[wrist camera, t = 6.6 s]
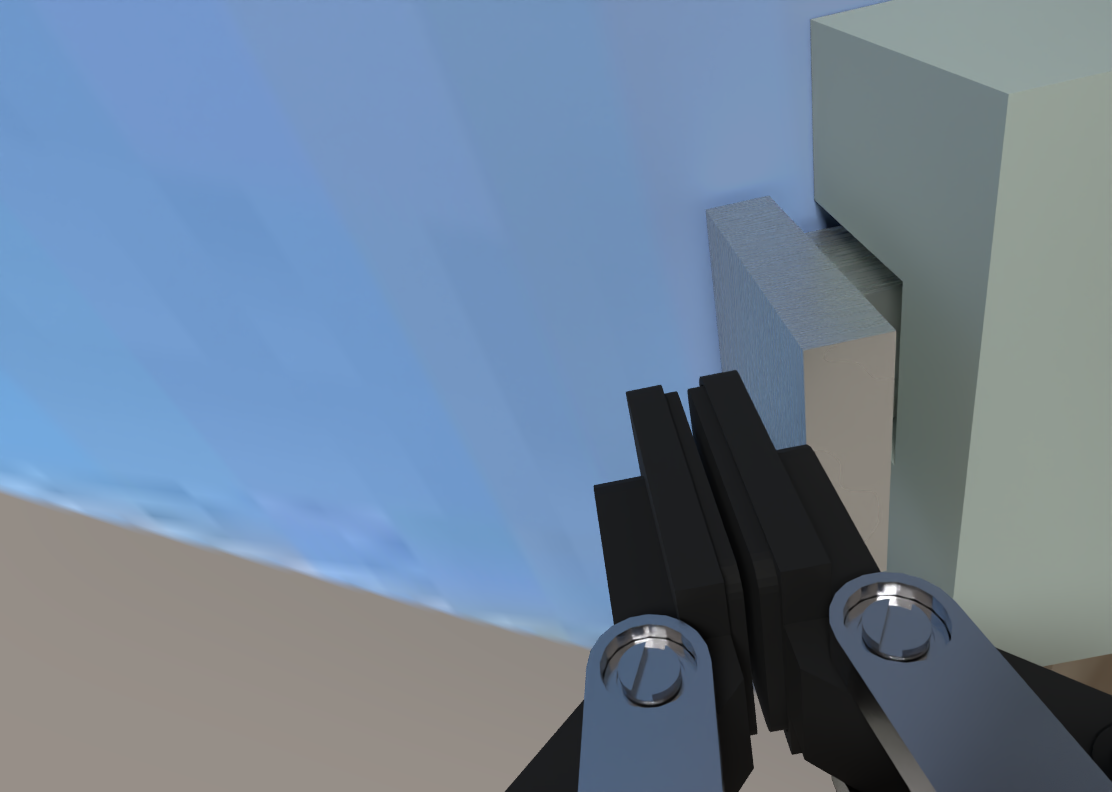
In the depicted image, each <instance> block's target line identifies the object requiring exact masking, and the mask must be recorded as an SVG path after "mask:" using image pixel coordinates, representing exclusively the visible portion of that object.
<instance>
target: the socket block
mask: <svg viewBox="0 0 1112 792" xmlns="http://www.w3.org/2000/svg"><path fill="white" fill-rule="evenodd" d="M810 21H811V66H812V111H813V156H814V200H815V201H816V202H817V203H819V204H820V205H821V206H822V207H823V208H824V209H825V210H826V211H827V212H828V213H829V214H830V215H831V216H833V217H834V218H835V219H836V220H837V221H838V222H839V223H840V224H841V225H842V226H843V227H844V228H845V229H847V230H848V231H849V232H850V233H851V234H852V235H853V236H854V237H855V238H856V239H857V240H858V241H859V242H861V243H862V244H863V245H864V246H865V247H866V248H867V249H868V250H869V251H870V252H871V253H872V254H873V255H875V256H876V257H877V258H878V259H879V260H880V261H881V262H882V263H883V264H884V265H885V266H886V267H888V268H889V269H890V270H891V271H892V272H893V273H894V274H895V275H896V276H897V277H898V278H899V279H900V280H902V281H903V290H902V312H901V335H900V357H899V380H898V402H897V417H894V418H893V426H892V451H891V475H890V500H889V524H888V548H887V571H884V572H893V573H904V574H907V575H911V576H915V577H918V578H922V579H924V580H926V581H928V582H930V583H932V584H934V585H935V586H937V587H939V588H941V589H942V590H943V591H944V592H946V593H947V594H948V595H949V596H950V597H951V598H952V599H953V600H955V601H956V602H957V604H958V605H959V606H960V607H961V608H962V609H963V611H964V612H965V613H966V614H967V615H968V616H969V617H970V619H971V620H972V621H973V622H974V623H975V624H976V626H977V627H978V628H979V629H980V630H981V631H982V632H983V634H984V635H985V636H986V637H987V638H988V639H989V641H990V642H991V643H992V644H993V645H994V646H995V647H996V648H998V649H1001V650H1003V651H1006V652H1008V653H1010V654H1013V655H1015V656H1018V657H1020V658H1023V659H1025V660H1027V661H1030V662H1032V663H1035V664H1037V665H1040V666H1042V667H1043V666H1048V665H1054V664H1059V663H1064V662H1070V661H1075V660H1080V659H1086V658H1091V657H1096V656H1102V655H1107V654H1112V0H892V1H888V2H884V3H879V4H875V5H871V6H866V7H862V8H858V9H854V10H849V11H845V12H841V13H836V14H832V15H828V16H823V17H819V18H815V19H810Z"/></svg>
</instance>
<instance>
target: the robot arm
mask: <svg viewBox="0 0 1112 792" xmlns="http://www.w3.org/2000/svg"><path fill="white" fill-rule="evenodd" d="M699 385H700V387H696V388H691V389H688V401H689V409H690V416H691V424H692V431H693V435H692V433H691V430H690V427H689V424H688V421H687V418H686V415H685V412H684V409H683V406H682V404H681V401H680V398H679V395H678V392H677V391H676V392H671V393H666V394H664V391H663V388H662V386H661V385H657V386H652V387H647V388H642V389H637V390H632V391H627V392H626V396H627V402H628V408H629V413H630V419H631V424H632V429H633V435H634V440H635V446H636V451H637V457H638V462H639V468H640V473H641V476H639V477H634V478H629V479H624V480H619V481H614V482H608V483H603V484H598V485H594V494H595V501H596V507H597V514H598V521H599V527H600V534H601V541H602V547H603V554H604V561H605V568H606V574H607V581H608V588H609V594H610V601H611V608H612V614H613V621H614V625H613V626H612V627H611V628H609V629H608V630H607V631H606V632H605V633H604V634H602V635H601V636H600V637H599V639H598V640H597V642H596V643H595V645H594V646H593V648H592V649H591V651H590V655H589V659H588V663H587V668H586V681H585V696H584V700H583V701H582V702H581V704H580V705H579V706H578V707H577V708H576V709H575V711H574V712H573V713H572V714H571V715H570V716H569V718H568V719H567V720H566V721H565V722H564V723H563V725H562V726H561V727H560V728H559V729H558V730H557V732H556V733H555V734H554V735H553V736H552V737H551V738H550V740H549V741H548V742H547V743H546V744H545V746H544V747H543V748H542V749H541V750H540V752H538V754H537V755H536V756H535V757H534V758H533V760H532V761H531V762H530V763H529V764H528V765H527V767H526V768H525V769H524V770H523V771H522V772H521V774H520V775H519V776H518V777H517V778H516V779H515V780H514V782H513V783H512V784H511V785H510V786H509V787H508V789H507V790H506V791H505V792H739V790H740V789H741V787H742V785H743V784H744V782H745V781H746V779H747V778H748V776H749V775H750V773H751V772H752V770H753V769H754V766H753V757H752V748H751V740H750V735H755V734H757V723H756V713H755V704H754V694H753V684H752V680H753V683H754V686H755V690H756V693H757V696H758V699H759V702H760V705H761V709H762V712H763V715H764V718H765V721H766V724H767V727H768V729H769V731H770V732H773V731H779V730H784V733H785V735H786V738H787V742H788V744H789V748H790V751H791V753H792V755H793V754H798V753H803V756H804V759H805V760H806V761H808V762H810V763H811V764H813V765H815V766H816V767H818V768H820V769H821V770H823V771H825V772H827V773H828V774H830V775H832V781H833V784H834V786H835V789H836V792H1112V695H1110V694H1107V693H1105V692H1102V691H1100V690H1098V689H1095V688H1093V687H1090V686H1088V685H1086V684H1083V683H1081V682H1078V681H1076V680H1073V679H1071V678H1069V677H1066V676H1064V675H1061V674H1059V673H1056V672H1054V671H1052V670H1049V669H1047V668H1044V667H1042V666H1040V665H1037V664H1035V663H1032V662H1030V661H1027V660H1025V659H1023V658H1020V657H1018V656H1015V655H1013V654H1010V653H1008V652H1006V651H1003V650H1001V649H998V648H996V647H995V646H994V645H993V644H992V643H991V642H990V641H989V639H988V638H987V637H986V636H985V635H984V634H983V632H982V631H981V630H980V629H979V628H978V627H977V626H976V624H975V623H974V622H973V621H972V620H971V619H970V617H969V616H968V615H967V614H966V613H965V612H964V611H963V609H962V608H961V607H960V606H959V605H958V604H957V602H956V601H955V600H953V599H952V598H951V597H950V596H949V595H948V594H947V593H946V592H944V591H943V590H942V589H941V588H939V587H937V586H935V585H934V584H932V583H930V582H928V581H926V580H924V579H922V578H918V577H915V576H911V575H907V574H904V573H893V572H881V571H880V569H879V568H878V566H877V564H876V562H875V560H874V559H873V557H872V555H871V553H870V551H869V550H868V548H867V546H866V544H865V542H864V540H863V539H862V537H861V535H860V533H859V531H858V530H857V528H856V526H855V524H854V522H853V521H852V519H851V517H850V515H849V513H848V512H847V510H846V508H845V506H844V504H843V503H842V501H841V499H840V497H839V495H838V493H837V492H836V490H835V488H834V486H833V484H832V483H831V481H830V479H829V477H828V475H827V474H826V472H825V470H824V468H823V466H822V465H821V463H820V461H819V459H818V457H817V456H816V454H815V452H814V451H813V449H812V448H811V447H810V446H809V445H807V444H805V445H800V446H795V447H790V448H784V449H779V450H776V449H775V447H774V445H773V443H772V441H771V439H770V437H769V435H768V432H767V430H766V428H765V426H764V424H763V422H762V420H761V418H760V416H759V414H758V412H757V410H756V408H755V406H754V404H753V402H752V400H751V398H750V395H749V393H748V391H747V389H746V387H745V385H744V383H743V381H742V379H741V377H740V375H739V373H738V371H737V370H732V371H727V372H722V373H717V374H712V375H707V376H702V377H700V379H699Z"/></svg>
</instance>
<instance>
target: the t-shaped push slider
mask: <svg viewBox="0 0 1112 792" xmlns="http://www.w3.org/2000/svg"><path fill="white" fill-rule="evenodd" d="M706 219H707V228H708V238H709V248H710V258H711V268H712V277H713V287H714V297H715V307H716V317H717V326H718V336H719V346H720V356H721V366H722V372H727V371H732V370H737V371H738V373H739V375H740V377H741V379H742V381H743V383H744V385H745V387H746V389H747V391H748V393H749V395H750V398H751V400H752V402H753V404H754V406H755V408H756V410H757V412H758V414H759V416H760V418H761V420H762V422H763V424H764V426H765V428H766V430H767V432H768V435H769V437H770V439H771V441H772V443H773V445H774V447H775V449H776V450H779V449H784V448H790V447H795V446H800V445H805V444H807V445H809V446H810V447H811V448H812V449H813V451H814V452H815V454H816V456H817V457H818V459H819V461H820V463H821V465H822V466H823V468H824V470H825V472H826V474H827V475H828V477H829V479H830V481H831V483H832V484H833V486H834V488H835V490H836V492H837V493H838V495H839V497H840V499H841V501H842V503H843V504H844V506H845V508H846V510H847V512H848V513H849V515H850V517H851V519H852V521H853V522H854V524H855V526H856V528H857V530H858V531H859V533H860V535H861V537H862V539H863V540H864V542H865V544H866V546H867V548H868V550H869V551H870V553H871V555H872V557H873V559H874V560H875V562H876V564H877V566H878V568H879V569H880V571H881V572H884V571H887V548H888V524H889V500H890V475H891V451H892V426H893V418H894V417H897V402H898V380H899V357H900V335H901V312H902V290H903V281H902V280H900V279H899V278H898V277H897V276H896V275H895V274H894V273H893V272H892V271H891V270H890V269H889V268H888V267H886V266H885V265H884V264H883V263H882V262H881V261H880V260H879V259H878V258H877V257H876V256H875V255H873V254H872V253H871V252H870V251H869V250H868V249H867V248H866V247H865V246H864V245H863V244H862V243H861V242H859V241H858V240H857V239H856V238H855V237H854V236H853V235H852V234H851V233H850V232H849V231H848V230H847V229H845V228H844V227H843V226H842V225H840V226H835V227H831V228H826V229H821V230H817V231H812V232H808V233H804V232H803V231H802V230H801V229H800V228H799V227H798V226H797V225H796V224H795V222H794V221H793V220H792V219H791V218H790V217H789V216H788V215H787V214H786V213H785V212H784V211H783V210H782V209H781V208H780V207H779V205H778V204H777V203H776V202H775V201H774V200H773V199H772V198H771V197H770V196H765V197H761V198H756V199H752V200H747V201H743V202H738V203H733V204H729V205H724V206H720V207H715V208H711V209H706Z"/></svg>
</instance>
